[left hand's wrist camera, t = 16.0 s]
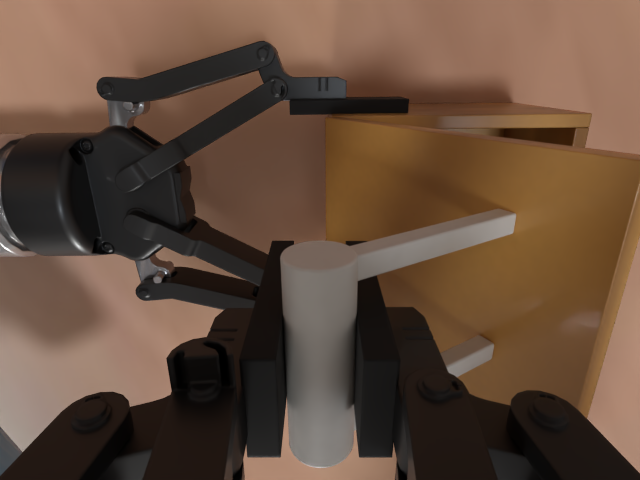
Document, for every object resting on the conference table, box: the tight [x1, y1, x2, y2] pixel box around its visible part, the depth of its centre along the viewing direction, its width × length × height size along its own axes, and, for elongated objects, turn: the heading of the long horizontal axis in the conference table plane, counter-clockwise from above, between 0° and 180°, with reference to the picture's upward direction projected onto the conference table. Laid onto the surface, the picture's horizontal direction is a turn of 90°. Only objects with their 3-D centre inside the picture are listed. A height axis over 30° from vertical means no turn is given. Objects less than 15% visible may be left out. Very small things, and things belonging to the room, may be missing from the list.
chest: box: [328, 103, 592, 148], centre depth 28 cm, size 14×10×9 cm
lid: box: [280, 117, 640, 468], centre depth 15 cm, size 14×10×9 cm
